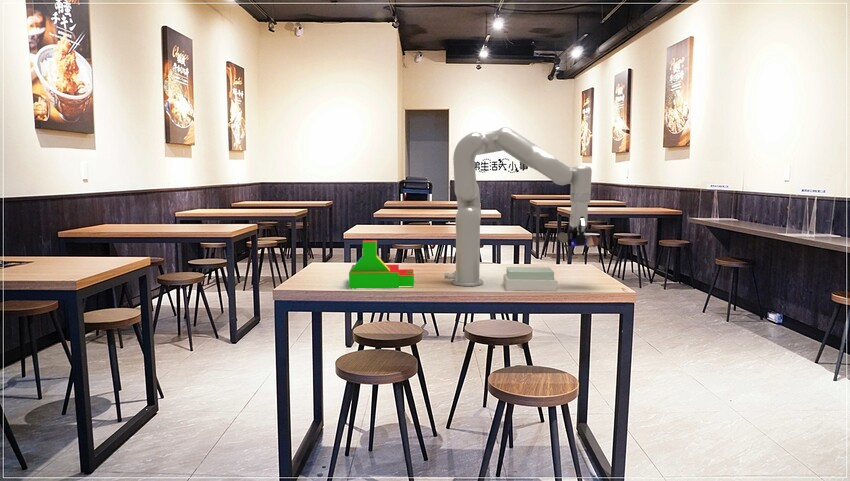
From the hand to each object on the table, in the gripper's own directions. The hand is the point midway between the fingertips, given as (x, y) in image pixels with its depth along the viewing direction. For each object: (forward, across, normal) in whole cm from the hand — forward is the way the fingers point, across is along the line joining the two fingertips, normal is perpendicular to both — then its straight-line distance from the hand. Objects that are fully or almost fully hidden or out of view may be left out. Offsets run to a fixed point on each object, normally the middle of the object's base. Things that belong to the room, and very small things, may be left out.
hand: (578, 243), depth 226 cm
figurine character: (+2, 0, 0) cm, 2 cm away
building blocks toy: (+19, -1, -77) cm, 79 cm away
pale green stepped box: (+17, +2, -18) cm, 25 cm away
